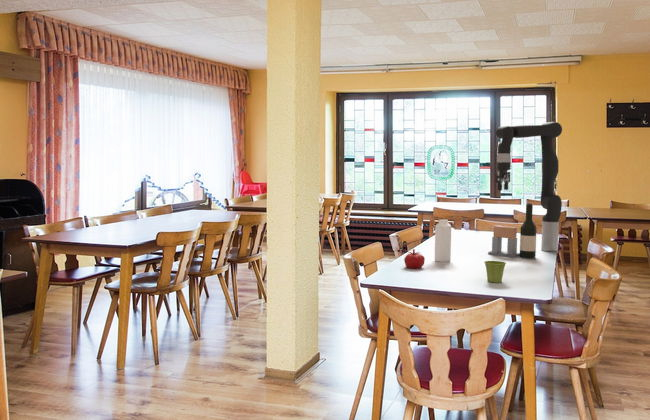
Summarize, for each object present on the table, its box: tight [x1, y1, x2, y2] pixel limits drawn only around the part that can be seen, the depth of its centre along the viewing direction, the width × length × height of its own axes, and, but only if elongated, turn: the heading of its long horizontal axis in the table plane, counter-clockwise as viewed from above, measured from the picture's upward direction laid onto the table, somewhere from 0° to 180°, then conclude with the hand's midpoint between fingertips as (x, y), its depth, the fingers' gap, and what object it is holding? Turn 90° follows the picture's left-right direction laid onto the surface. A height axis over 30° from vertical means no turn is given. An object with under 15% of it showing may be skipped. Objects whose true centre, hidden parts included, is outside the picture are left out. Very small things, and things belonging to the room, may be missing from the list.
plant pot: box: [484, 260, 507, 284], centre depth 282 cm, size 9×9×9 cm
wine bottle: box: [519, 202, 537, 260], centre depth 346 cm, size 8×8×30 cm
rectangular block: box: [492, 225, 518, 239], centre depth 354 cm, size 4×12×6 cm, turn 51°
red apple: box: [403, 248, 425, 269], centre depth 314 cm, size 10×10×9 cm
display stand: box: [487, 236, 520, 258], centre depth 355 cm, size 7×16×10 cm, turn 51°
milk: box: [434, 218, 452, 263], centre depth 334 cm, size 6×6×22 cm
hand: (502, 190), depth 361 cm, fingers open, 8 cm apart
